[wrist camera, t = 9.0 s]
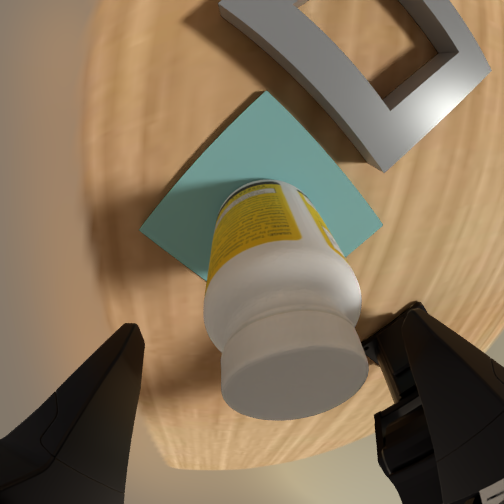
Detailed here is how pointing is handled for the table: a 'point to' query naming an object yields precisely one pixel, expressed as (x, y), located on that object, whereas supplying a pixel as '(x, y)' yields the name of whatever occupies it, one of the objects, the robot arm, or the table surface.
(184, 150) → the table surface
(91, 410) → the robot arm
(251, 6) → the socket block
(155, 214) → the mat
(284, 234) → the supplement bottle
